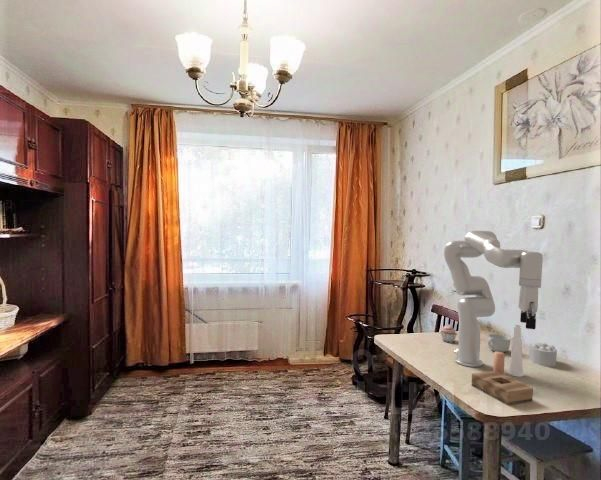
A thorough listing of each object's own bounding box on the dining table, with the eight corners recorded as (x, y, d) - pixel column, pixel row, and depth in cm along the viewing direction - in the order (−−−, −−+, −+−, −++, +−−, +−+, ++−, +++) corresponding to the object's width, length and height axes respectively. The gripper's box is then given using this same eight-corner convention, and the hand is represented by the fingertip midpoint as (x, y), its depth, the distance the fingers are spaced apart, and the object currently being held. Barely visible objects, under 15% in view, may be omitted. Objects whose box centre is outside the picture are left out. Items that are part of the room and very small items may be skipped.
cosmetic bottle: (509, 370, 175) (511, 323, 174) (524, 374, 171) (526, 325, 170) (506, 374, 170) (508, 325, 170) (522, 378, 166) (524, 327, 166)
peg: (490, 379, 164) (491, 352, 164) (498, 378, 165) (499, 351, 165) (498, 383, 160) (499, 355, 160) (505, 382, 161) (506, 354, 161)
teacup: (498, 347, 211) (498, 332, 211) (514, 353, 201) (515, 338, 201) (478, 349, 207) (478, 334, 207) (494, 355, 196) (494, 340, 196)
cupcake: (436, 338, 225) (437, 321, 225) (451, 338, 226) (452, 321, 226) (444, 343, 216) (444, 325, 215) (460, 343, 217) (460, 325, 216)
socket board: (471, 385, 157) (471, 373, 157) (494, 382, 161) (495, 370, 161) (507, 405, 140) (508, 391, 140) (532, 401, 144) (533, 388, 143)
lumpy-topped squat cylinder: (549, 358, 193) (549, 341, 193) (561, 368, 180) (561, 349, 180) (526, 357, 195) (527, 340, 195) (537, 366, 182) (537, 348, 182)
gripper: (514, 279, 160) (512, 319, 161) (524, 285, 144) (521, 330, 145) (535, 280, 158) (533, 321, 159) (547, 287, 141) (544, 332, 142)
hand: (527, 325), depth 152 cm, fingers open, 9 cm apart
